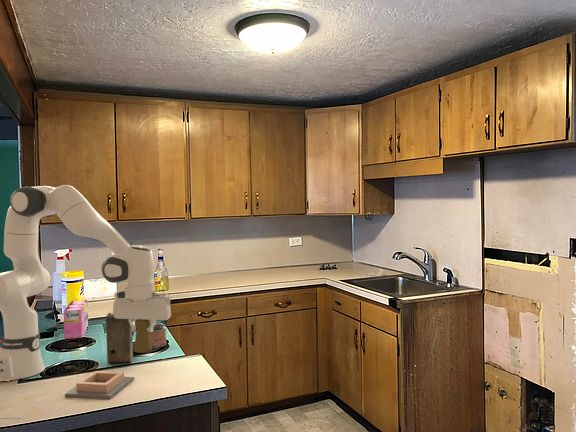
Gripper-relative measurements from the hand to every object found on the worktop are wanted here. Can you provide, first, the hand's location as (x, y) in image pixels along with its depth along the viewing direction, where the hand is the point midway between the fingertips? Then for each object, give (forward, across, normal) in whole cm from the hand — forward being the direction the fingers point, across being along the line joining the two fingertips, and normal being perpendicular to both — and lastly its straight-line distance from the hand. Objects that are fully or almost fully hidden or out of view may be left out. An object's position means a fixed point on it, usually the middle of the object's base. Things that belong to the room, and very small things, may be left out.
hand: (142, 331), depth 162 cm
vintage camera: (+18, +20, -24) cm, 37 cm away
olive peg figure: (+7, 0, 0) cm, 7 cm away
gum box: (+19, +64, -57) cm, 87 cm away
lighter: (+18, +13, -39) cm, 45 cm away
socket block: (+18, +13, +6) cm, 23 cm away
